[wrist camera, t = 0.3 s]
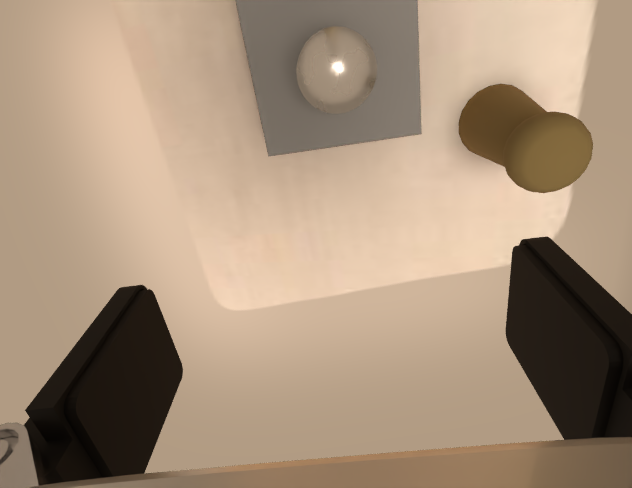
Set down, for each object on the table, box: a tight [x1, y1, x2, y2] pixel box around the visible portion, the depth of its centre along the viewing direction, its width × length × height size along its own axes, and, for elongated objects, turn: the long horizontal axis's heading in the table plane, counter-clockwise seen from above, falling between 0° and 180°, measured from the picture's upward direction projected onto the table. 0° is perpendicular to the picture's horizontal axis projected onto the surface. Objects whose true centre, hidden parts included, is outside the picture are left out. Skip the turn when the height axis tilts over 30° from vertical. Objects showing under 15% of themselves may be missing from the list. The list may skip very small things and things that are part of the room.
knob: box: [296, 26, 377, 114], centre depth 27 cm, size 5×5×6 cm
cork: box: [459, 84, 593, 193], centre depth 31 cm, size 6×6×11 cm
